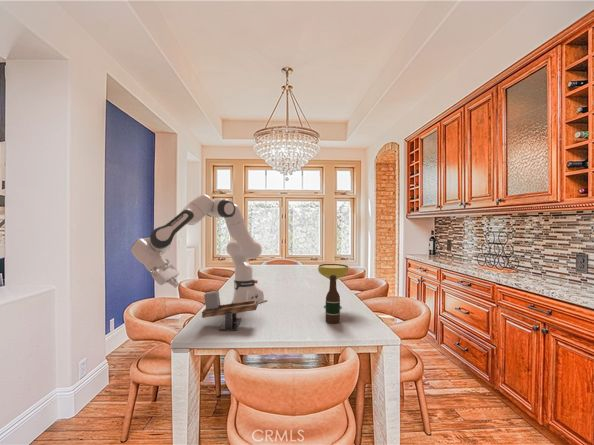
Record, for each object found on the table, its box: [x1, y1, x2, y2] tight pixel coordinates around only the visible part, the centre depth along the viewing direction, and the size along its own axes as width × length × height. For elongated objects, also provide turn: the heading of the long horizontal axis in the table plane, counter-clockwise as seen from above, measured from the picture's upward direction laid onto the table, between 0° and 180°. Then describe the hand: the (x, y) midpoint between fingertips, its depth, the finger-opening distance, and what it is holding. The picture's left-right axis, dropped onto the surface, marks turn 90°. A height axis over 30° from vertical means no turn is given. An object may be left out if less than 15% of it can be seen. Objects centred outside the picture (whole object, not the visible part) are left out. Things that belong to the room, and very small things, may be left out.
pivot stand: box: [218, 312, 243, 332], centre depth 166 cm, size 8×17×8 cm, turn 1°
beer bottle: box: [325, 275, 341, 324], centre depth 173 cm, size 8×8×24 cm
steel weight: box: [203, 290, 222, 311], centre depth 166 cm, size 6×5×9 cm
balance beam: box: [201, 300, 259, 319], centre depth 166 cm, size 26×10×3 cm, turn 91°
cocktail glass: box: [317, 263, 349, 310], centre depth 201 cm, size 18×18×25 cm
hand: (177, 286), depth 165 cm, fingers closed
